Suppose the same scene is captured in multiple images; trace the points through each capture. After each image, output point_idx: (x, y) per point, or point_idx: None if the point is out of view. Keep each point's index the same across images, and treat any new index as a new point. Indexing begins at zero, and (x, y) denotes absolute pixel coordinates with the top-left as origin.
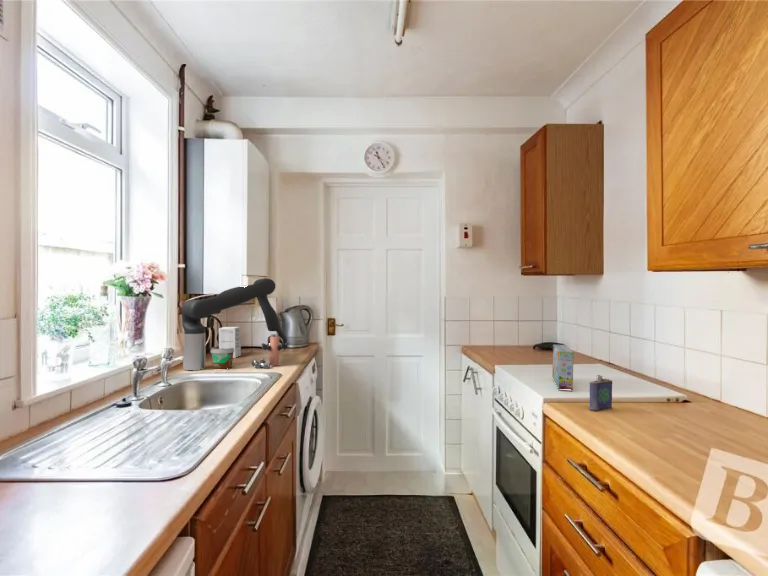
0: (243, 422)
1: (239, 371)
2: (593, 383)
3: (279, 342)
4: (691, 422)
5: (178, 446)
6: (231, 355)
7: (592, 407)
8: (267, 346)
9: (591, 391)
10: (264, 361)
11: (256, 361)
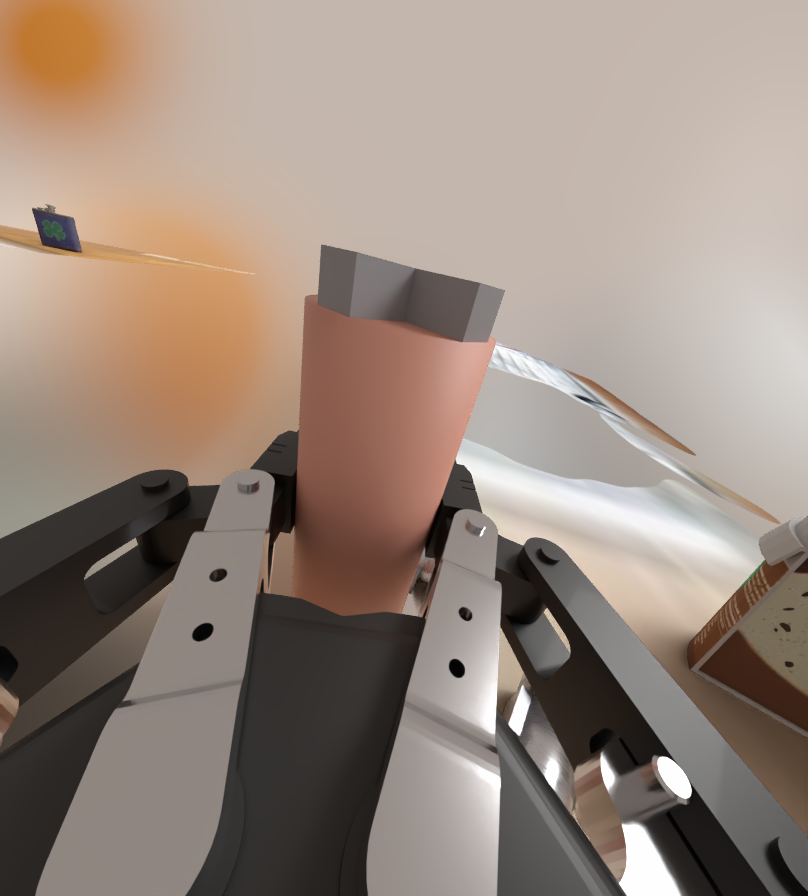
0: None
1: (553, 540)
2: (73, 218)
3: (131, 698)
4: None
5: None
6: (757, 581)
7: (81, 248)
8: (473, 492)
9: (75, 228)
10: None
11: None
